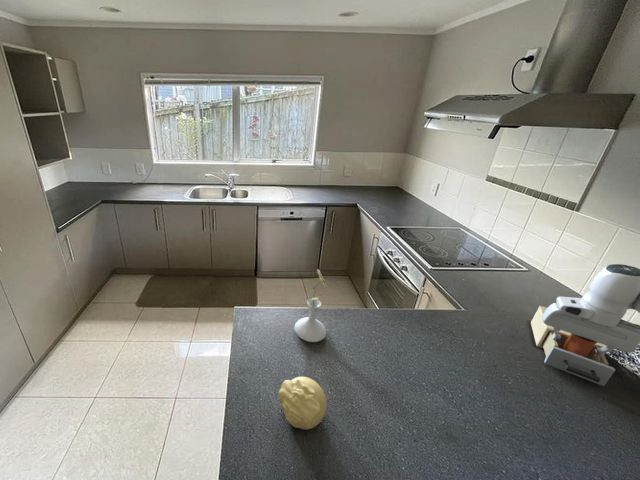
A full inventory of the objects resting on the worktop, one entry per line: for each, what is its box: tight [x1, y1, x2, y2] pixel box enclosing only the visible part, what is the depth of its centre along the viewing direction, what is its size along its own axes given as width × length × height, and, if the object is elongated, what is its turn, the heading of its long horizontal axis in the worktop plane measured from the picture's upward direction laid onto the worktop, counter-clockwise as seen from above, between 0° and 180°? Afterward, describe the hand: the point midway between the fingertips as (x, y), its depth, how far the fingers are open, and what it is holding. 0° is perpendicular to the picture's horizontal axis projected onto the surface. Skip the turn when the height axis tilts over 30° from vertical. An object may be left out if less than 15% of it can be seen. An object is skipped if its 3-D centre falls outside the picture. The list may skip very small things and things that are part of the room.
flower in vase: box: [294, 269, 329, 343], centre depth 99 cm, size 13×11×25 cm
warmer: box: [530, 305, 606, 356], centre depth 101 cm, size 16×15×9 cm
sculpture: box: [277, 376, 327, 430], centre depth 73 cm, size 11×12×11 cm
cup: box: [561, 333, 597, 358], centre depth 92 cm, size 6×6×10 cm
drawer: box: [542, 331, 616, 387], centre depth 92 cm, size 19×13×7 cm
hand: (575, 345), depth 92 cm, fingers open, 8 cm apart
